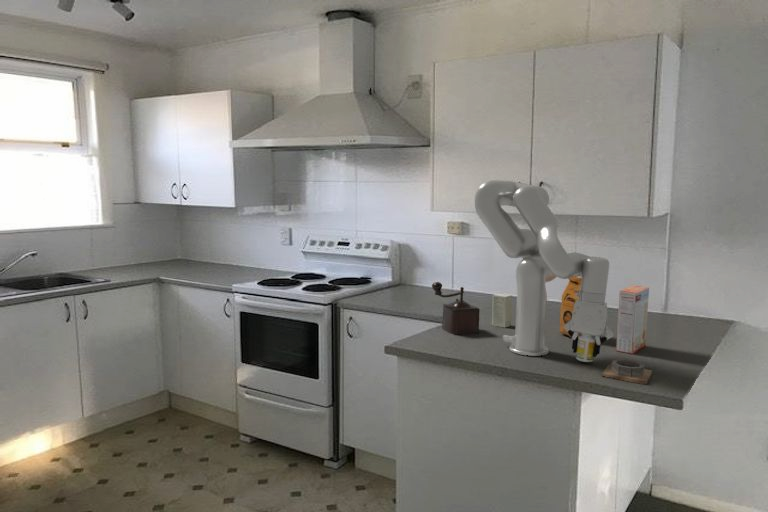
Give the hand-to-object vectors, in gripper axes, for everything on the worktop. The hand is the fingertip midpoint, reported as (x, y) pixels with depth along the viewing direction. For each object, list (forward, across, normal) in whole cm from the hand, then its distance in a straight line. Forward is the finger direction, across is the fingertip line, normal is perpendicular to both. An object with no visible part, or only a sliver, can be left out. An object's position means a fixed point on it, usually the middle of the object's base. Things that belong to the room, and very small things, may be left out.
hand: (585, 353), depth 192 cm
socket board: (+2, +14, -5) cm, 15 cm away
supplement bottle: (+2, 0, 0) cm, 2 cm away
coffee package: (+4, -10, +32) cm, 33 cm away
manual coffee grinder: (+6, -50, +13) cm, 52 cm away
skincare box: (+5, -38, +32) cm, 50 cm away
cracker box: (+3, +10, +27) cm, 29 cm away
